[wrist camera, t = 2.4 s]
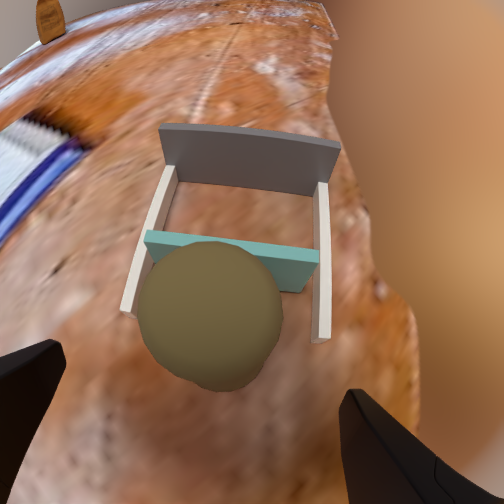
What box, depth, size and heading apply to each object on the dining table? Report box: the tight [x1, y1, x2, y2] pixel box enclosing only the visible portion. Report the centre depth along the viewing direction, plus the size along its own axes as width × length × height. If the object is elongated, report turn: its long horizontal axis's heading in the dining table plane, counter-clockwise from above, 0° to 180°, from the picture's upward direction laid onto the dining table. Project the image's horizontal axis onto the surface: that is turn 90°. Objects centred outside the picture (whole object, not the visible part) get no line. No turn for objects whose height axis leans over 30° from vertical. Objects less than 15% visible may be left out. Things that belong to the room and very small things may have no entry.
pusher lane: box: [120, 123, 341, 344], centre depth 19 cm, size 13×14×6 cm
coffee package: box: [36, 0, 66, 44], centre depth 44 cm, size 10×12×22 cm
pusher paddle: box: [143, 230, 319, 293], centre depth 18 cm, size 1×10×5 cm, turn 84°
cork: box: [137, 241, 283, 392], centre depth 13 cm, size 6×6×11 cm
